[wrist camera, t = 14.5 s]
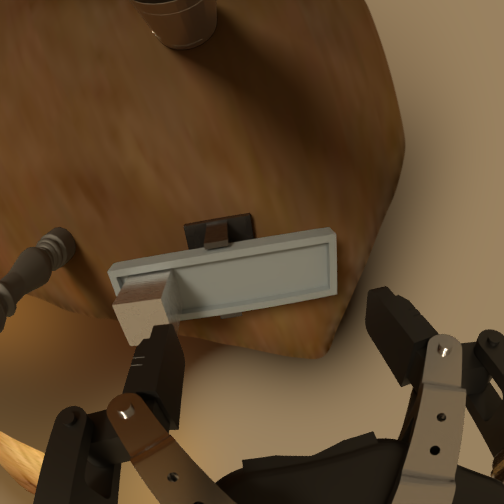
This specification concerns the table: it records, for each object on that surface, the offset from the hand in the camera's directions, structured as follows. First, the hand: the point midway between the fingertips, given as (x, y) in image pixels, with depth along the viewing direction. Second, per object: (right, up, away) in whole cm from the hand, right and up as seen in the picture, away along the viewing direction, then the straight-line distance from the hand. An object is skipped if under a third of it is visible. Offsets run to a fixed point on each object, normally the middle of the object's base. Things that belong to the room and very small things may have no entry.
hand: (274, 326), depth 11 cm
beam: (-5, 0, +29) cm, 29 cm away
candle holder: (-34, +4, +32) cm, 47 cm away
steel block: (-14, -2, +27) cm, 30 cm away
